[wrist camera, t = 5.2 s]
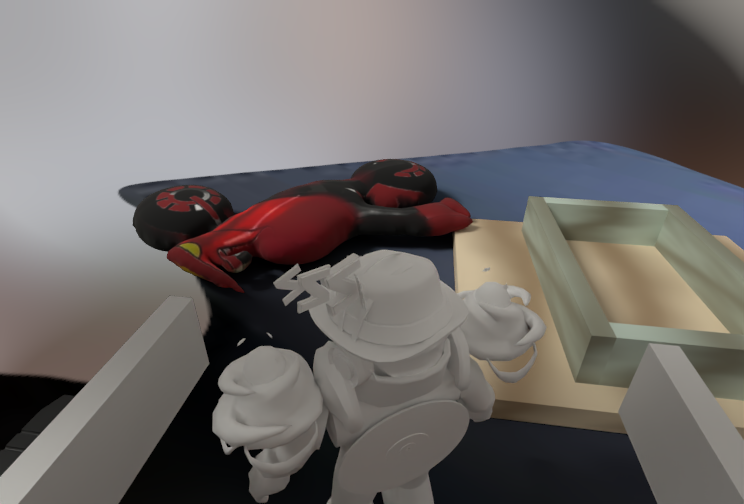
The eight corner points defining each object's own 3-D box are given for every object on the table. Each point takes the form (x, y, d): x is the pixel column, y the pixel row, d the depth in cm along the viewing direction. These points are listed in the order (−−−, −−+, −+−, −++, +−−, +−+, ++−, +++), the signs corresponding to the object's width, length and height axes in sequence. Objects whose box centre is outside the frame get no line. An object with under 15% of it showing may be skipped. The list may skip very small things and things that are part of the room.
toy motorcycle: (145, 237, 36) (114, 329, 22) (131, 176, 34) (87, 235, 20) (411, 203, 44) (510, 255, 30) (411, 152, 42) (517, 183, 29)
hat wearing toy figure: (269, 652, 12) (174, 327, 6) (244, 520, 15) (165, 216, 9) (518, 517, 15) (619, 217, 9) (456, 431, 18) (502, 163, 12)
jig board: (461, 414, 19) (472, 347, 17) (452, 230, 35) (457, 184, 33) (972, 475, 17) (1054, 407, 15) (719, 250, 32) (742, 201, 30)
